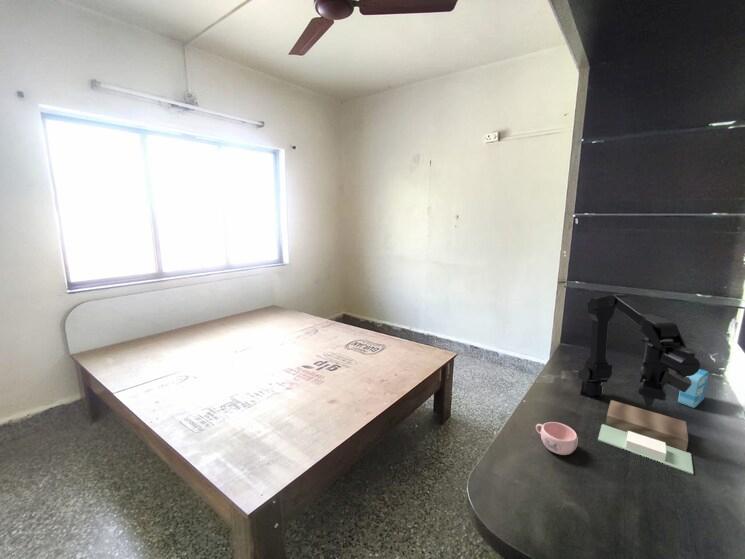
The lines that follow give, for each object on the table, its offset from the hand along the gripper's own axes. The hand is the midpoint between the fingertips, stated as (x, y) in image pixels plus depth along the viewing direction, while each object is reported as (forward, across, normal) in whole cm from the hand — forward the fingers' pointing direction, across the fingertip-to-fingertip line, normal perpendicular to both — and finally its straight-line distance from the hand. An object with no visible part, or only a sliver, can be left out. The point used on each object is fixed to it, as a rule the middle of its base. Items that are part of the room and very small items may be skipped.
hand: (648, 405), depth 104 cm
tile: (+8, -8, -1) cm, 11 cm away
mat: (+11, -7, 0) cm, 13 cm away
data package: (+11, +36, -13) cm, 40 cm away
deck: (+11, +4, 0) cm, 11 cm away
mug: (+11, -24, +21) cm, 34 cm away
